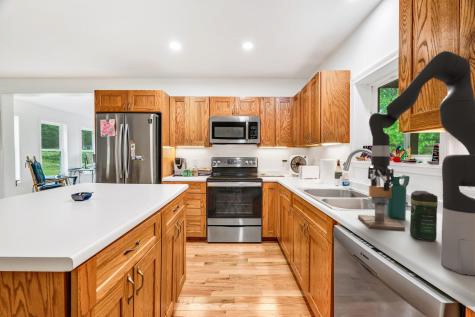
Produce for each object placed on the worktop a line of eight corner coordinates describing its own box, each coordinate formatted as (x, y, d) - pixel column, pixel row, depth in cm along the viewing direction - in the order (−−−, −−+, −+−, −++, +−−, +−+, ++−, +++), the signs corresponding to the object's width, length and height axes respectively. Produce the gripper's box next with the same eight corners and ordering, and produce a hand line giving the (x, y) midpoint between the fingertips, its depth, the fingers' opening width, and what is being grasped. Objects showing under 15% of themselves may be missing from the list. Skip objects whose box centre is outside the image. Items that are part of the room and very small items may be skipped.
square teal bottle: (388, 218, 125) (389, 175, 125) (382, 214, 133) (383, 174, 133) (410, 220, 123) (411, 176, 122) (403, 215, 131) (404, 174, 130)
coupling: (388, 202, 118) (388, 185, 118) (393, 205, 111) (393, 187, 111) (366, 201, 120) (366, 185, 120) (370, 204, 114) (370, 186, 113)
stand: (404, 230, 106) (405, 208, 106) (369, 228, 109) (370, 207, 108) (387, 219, 123) (388, 200, 123) (358, 217, 126) (358, 199, 126)
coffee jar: (439, 243, 91) (441, 193, 91) (414, 240, 94) (415, 192, 94) (430, 235, 100) (431, 190, 100) (407, 232, 103) (408, 188, 103)
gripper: (399, 155, 109) (398, 192, 109) (377, 155, 123) (376, 187, 123) (384, 155, 108) (383, 192, 108) (363, 155, 122) (363, 187, 122)
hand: (379, 189), depth 116 cm, fingers open, 8 cm apart
